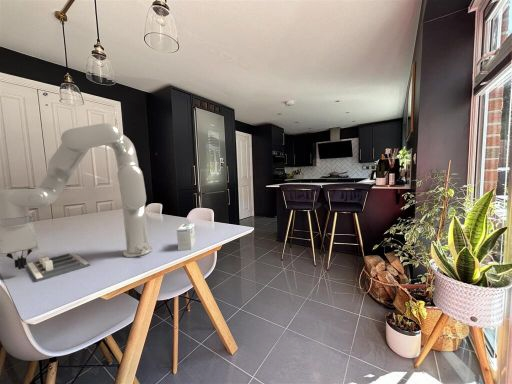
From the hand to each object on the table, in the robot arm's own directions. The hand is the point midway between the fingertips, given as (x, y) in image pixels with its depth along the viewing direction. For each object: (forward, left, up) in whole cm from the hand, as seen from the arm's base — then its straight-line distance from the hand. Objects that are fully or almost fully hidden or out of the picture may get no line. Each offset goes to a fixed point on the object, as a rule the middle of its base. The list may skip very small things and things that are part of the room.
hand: (21, 268), depth 84 cm
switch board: (0, -10, -3) cm, 11 cm away
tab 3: (-6, -7, -2) cm, 9 cm away
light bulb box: (-28, -55, -3) cm, 62 cm away
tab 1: (+6, -7, -2) cm, 9 cm away
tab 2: (0, -7, -2) cm, 7 cm away
